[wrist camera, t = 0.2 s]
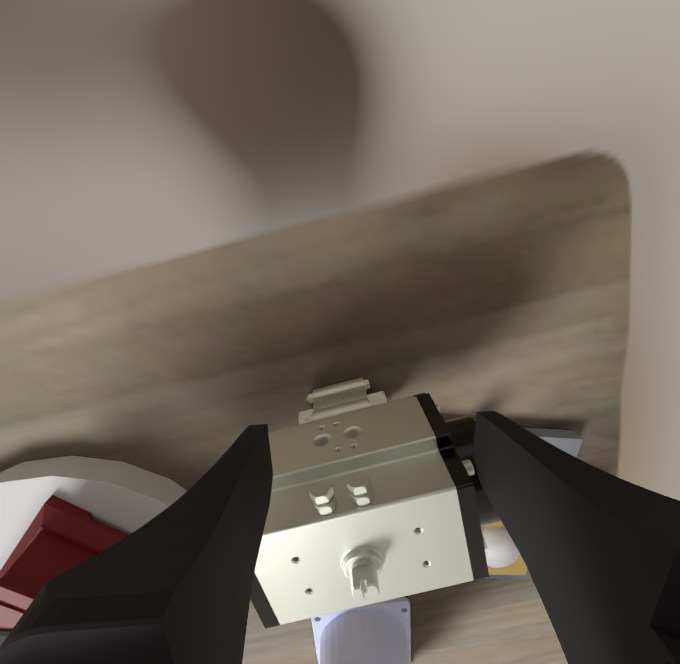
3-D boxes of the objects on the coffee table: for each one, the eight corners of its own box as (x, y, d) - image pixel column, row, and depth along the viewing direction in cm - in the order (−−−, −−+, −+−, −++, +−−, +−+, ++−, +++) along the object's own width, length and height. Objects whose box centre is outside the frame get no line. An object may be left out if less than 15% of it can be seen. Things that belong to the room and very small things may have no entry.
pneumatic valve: (439, 411, 24) (544, 599, 13) (268, 454, 24) (223, 672, 13) (424, 335, 22) (533, 477, 11) (239, 383, 23) (158, 567, 11)
